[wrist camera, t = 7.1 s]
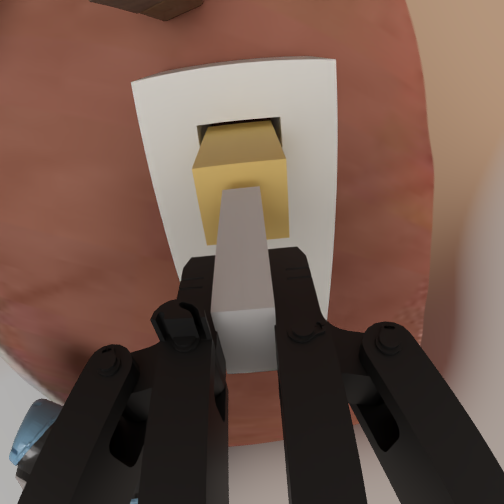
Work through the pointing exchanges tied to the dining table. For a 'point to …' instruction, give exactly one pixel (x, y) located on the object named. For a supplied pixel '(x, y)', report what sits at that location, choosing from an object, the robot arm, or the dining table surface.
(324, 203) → the socket block
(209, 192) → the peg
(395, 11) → the dining table surface
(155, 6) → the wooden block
